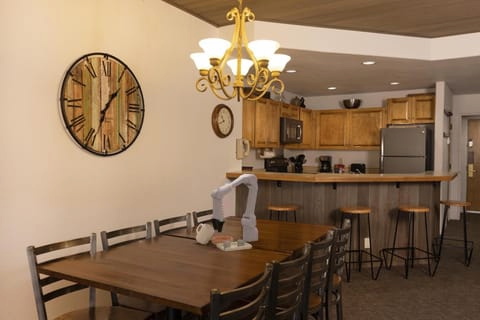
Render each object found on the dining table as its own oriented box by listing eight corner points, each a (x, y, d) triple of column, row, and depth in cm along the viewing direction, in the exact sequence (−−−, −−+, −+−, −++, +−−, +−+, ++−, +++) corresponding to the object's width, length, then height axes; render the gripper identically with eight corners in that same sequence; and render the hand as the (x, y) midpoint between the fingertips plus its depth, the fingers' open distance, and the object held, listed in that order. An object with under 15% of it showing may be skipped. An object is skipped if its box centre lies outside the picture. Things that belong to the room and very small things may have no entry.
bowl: (227, 240, 254) (227, 235, 254) (235, 245, 242) (235, 239, 242) (209, 242, 248) (209, 237, 248) (216, 247, 237) (216, 241, 237)
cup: (201, 244, 238) (209, 231, 237) (189, 233, 245) (197, 220, 244) (209, 245, 245) (217, 231, 244) (197, 233, 252) (205, 221, 250)
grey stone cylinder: (242, 245, 237) (242, 239, 237) (245, 247, 233) (245, 240, 233) (236, 246, 236) (236, 239, 236) (239, 247, 232) (239, 241, 232)
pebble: (229, 246, 234) (229, 240, 234) (231, 248, 230) (231, 241, 230) (222, 247, 232) (222, 241, 232) (225, 249, 228) (225, 242, 228)
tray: (243, 244, 242) (243, 240, 242) (252, 249, 230) (252, 245, 230) (216, 247, 235) (216, 243, 235) (224, 252, 223) (224, 248, 223)
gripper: (207, 208, 243) (207, 229, 244) (215, 211, 230) (215, 233, 230) (218, 207, 246) (218, 228, 246) (226, 210, 233) (226, 232, 233)
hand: (217, 231), depth 238 cm, fingers open, 7 cm apart
